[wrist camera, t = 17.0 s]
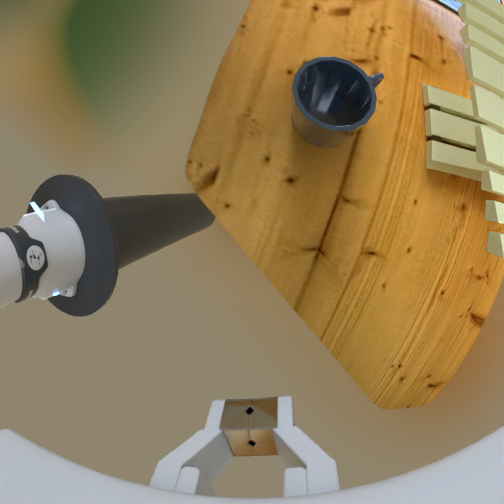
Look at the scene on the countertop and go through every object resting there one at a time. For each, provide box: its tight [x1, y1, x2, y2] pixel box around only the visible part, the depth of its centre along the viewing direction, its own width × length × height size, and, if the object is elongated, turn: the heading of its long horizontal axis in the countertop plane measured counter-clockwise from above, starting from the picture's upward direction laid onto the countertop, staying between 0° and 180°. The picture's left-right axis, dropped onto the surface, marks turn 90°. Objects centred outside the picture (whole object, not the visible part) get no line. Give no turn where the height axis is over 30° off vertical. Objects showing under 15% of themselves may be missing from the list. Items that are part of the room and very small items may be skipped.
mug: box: [292, 57, 384, 148], centre depth 26 cm, size 11×8×10 cm
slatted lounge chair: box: [421, 0, 504, 258], centre depth 20 cm, size 30×16×18 cm, turn 177°
